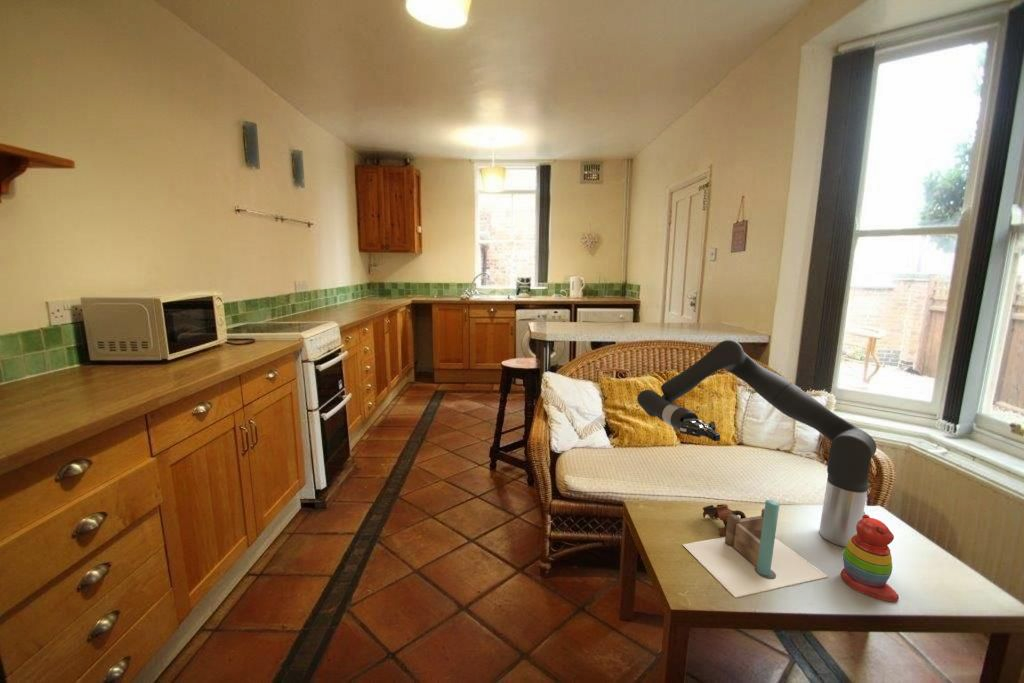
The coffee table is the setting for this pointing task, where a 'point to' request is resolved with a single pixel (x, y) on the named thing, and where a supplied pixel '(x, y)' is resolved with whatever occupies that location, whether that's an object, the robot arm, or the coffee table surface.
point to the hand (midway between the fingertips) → (718, 438)
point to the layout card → (752, 567)
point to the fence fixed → (749, 523)
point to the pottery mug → (721, 515)
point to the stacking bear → (869, 560)
